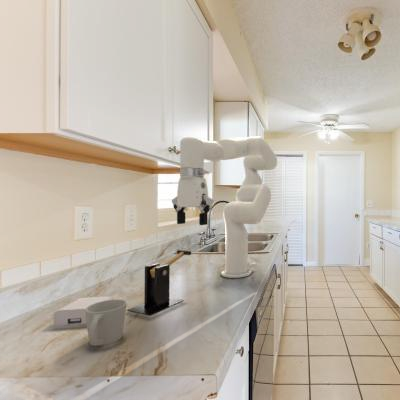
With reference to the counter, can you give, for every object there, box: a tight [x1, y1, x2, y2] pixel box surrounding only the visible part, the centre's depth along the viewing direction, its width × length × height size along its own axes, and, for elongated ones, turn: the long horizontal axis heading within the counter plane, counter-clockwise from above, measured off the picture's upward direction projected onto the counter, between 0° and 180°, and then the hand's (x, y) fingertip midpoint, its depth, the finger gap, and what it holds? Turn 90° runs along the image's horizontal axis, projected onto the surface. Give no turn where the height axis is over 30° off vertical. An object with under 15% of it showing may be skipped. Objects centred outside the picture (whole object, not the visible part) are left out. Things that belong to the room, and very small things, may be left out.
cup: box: [85, 298, 127, 347], centre depth 60 cm, size 8×10×8 cm
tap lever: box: [150, 249, 192, 278], centre depth 85 cm, size 13×5×2 cm, turn 158°
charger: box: [53, 295, 114, 327], centre depth 75 cm, size 5×9×15 cm
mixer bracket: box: [126, 262, 185, 317], centre depth 80 cm, size 12×9×13 cm
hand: (192, 224), depth 93 cm, fingers open, 9 cm apart
